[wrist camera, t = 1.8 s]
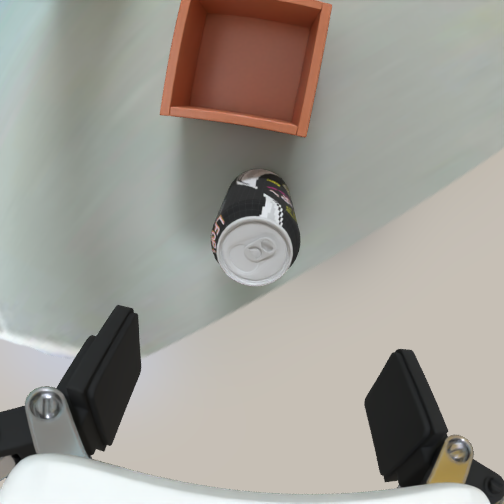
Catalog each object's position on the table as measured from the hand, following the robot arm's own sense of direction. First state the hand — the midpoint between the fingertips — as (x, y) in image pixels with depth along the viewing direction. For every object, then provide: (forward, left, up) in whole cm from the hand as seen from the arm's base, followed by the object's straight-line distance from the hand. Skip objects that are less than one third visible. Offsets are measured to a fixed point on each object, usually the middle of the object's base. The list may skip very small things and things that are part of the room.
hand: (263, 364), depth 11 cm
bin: (-4, +12, -21) cm, 24 cm away
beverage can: (-1, 0, -21) cm, 21 cm away
